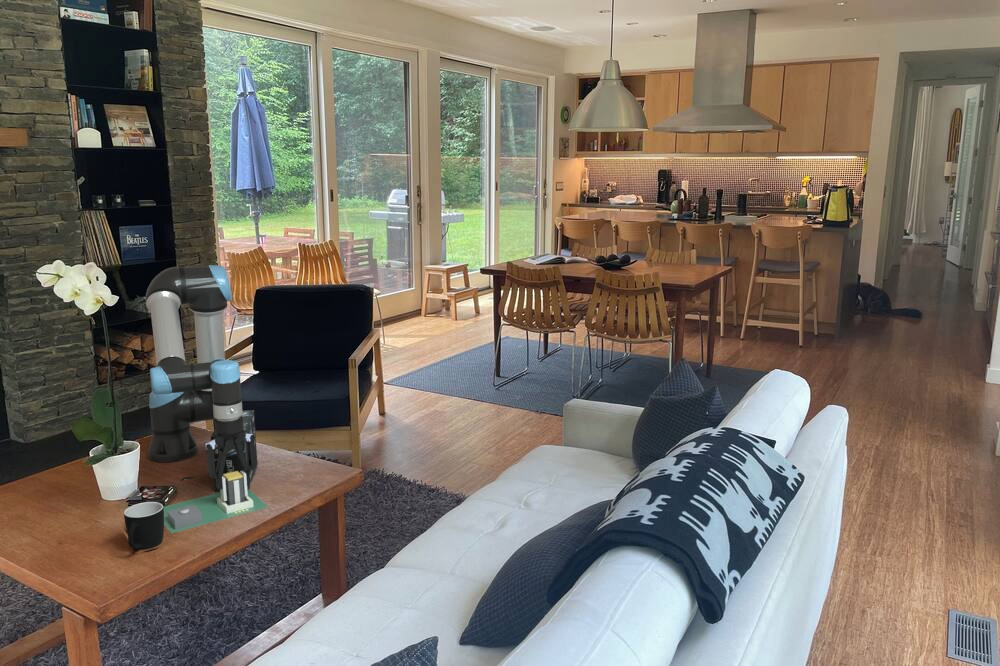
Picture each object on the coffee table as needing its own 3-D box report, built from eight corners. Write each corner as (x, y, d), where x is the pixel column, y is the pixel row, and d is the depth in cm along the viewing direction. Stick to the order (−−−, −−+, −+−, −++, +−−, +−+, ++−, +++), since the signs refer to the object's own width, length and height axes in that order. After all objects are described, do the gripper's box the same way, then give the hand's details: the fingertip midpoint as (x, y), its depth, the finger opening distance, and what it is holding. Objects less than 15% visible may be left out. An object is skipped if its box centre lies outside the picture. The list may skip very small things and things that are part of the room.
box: (250, 494, 225) (245, 433, 221) (214, 497, 223) (209, 435, 219) (258, 465, 247) (254, 409, 243) (226, 467, 245) (222, 411, 241)
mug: (139, 537, 197) (135, 501, 195) (173, 538, 196) (169, 502, 194) (113, 561, 185) (109, 522, 183) (150, 562, 185) (146, 523, 183)
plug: (225, 504, 214) (223, 474, 213) (239, 500, 217) (237, 470, 215) (231, 510, 211) (228, 479, 209) (245, 506, 213) (243, 476, 211)
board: (153, 512, 211) (151, 498, 210) (245, 489, 227) (245, 476, 226) (171, 536, 197) (169, 522, 197) (268, 510, 213) (267, 496, 212)
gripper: (198, 427, 200) (205, 509, 205) (265, 414, 211) (270, 492, 216) (190, 420, 206) (196, 500, 211) (256, 407, 217) (261, 484, 222)
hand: (234, 496), depth 214 cm, fingers open, 5 cm apart
